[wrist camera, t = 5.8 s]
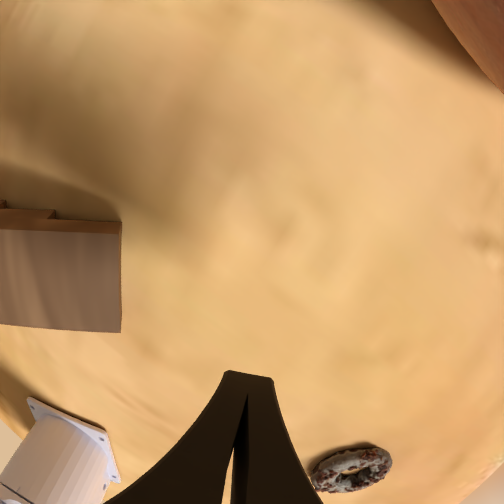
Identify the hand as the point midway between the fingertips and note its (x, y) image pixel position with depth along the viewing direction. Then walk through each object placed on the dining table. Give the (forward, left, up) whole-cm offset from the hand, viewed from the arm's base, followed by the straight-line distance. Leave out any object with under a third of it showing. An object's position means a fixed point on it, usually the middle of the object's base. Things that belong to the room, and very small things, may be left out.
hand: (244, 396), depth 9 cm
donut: (-13, -9, -7) cm, 18 cm away
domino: (0, +6, -5) cm, 8 cm away
